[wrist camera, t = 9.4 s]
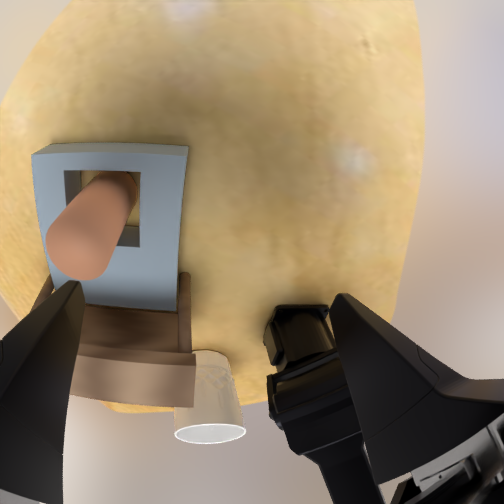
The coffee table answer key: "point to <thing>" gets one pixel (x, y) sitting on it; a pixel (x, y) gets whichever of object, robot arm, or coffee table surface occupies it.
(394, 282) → the coffee table surface
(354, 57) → the coffee table surface
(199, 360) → the white cup
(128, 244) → the socket block
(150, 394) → the brown wooden table shape
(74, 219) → the peg
